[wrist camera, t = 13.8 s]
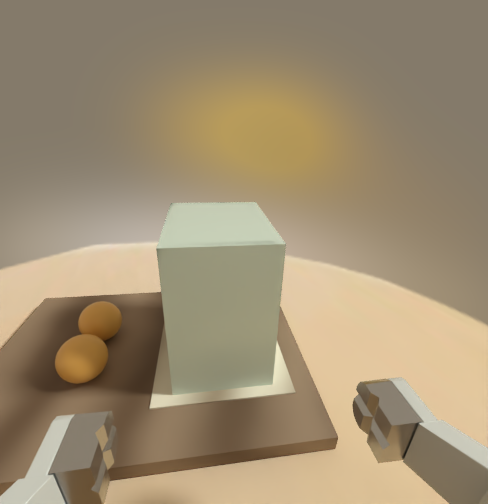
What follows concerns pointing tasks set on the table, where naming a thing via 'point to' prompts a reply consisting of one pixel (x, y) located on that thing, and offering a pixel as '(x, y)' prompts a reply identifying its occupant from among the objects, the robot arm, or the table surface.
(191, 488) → the table surface
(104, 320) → the amber marble
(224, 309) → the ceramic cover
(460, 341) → the table surface
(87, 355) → the amber marble
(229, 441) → the walnut board
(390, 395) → the robot arm
